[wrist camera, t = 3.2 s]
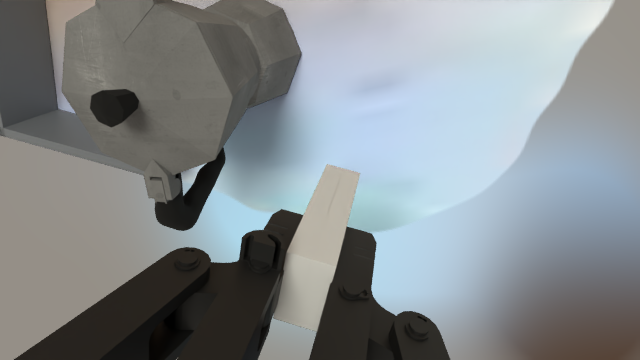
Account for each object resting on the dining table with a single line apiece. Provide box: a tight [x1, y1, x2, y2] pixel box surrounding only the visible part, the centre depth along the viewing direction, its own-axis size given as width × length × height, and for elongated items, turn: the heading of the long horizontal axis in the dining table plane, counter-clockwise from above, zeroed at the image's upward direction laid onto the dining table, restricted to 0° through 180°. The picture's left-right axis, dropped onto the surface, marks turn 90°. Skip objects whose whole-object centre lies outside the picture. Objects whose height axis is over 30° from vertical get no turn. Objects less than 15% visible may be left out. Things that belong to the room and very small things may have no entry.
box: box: [0, 0, 144, 175], centre depth 32 cm, size 15×20×6 cm
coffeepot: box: [62, 0, 301, 231], centre depth 25 cm, size 15×9×18 cm, turn 1°
